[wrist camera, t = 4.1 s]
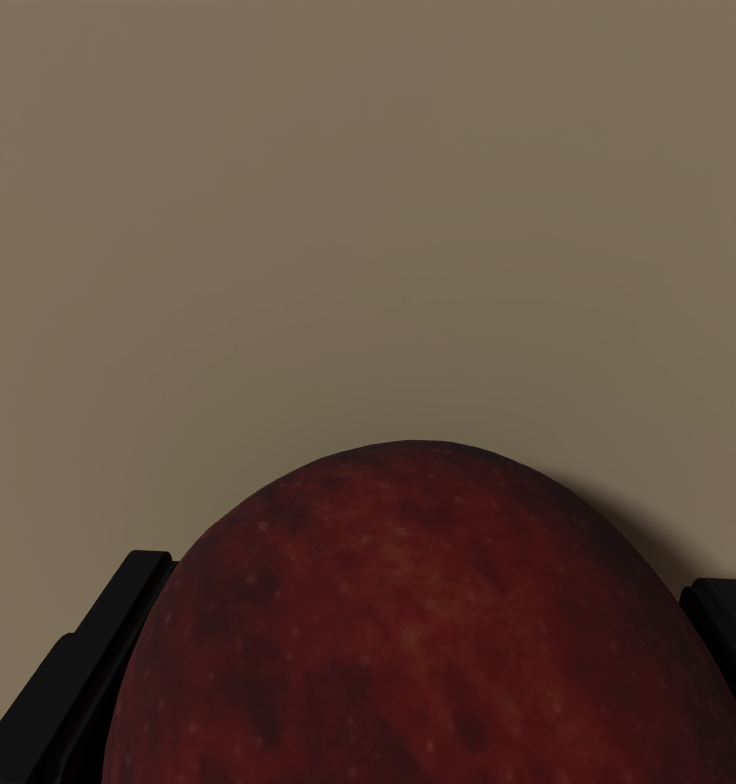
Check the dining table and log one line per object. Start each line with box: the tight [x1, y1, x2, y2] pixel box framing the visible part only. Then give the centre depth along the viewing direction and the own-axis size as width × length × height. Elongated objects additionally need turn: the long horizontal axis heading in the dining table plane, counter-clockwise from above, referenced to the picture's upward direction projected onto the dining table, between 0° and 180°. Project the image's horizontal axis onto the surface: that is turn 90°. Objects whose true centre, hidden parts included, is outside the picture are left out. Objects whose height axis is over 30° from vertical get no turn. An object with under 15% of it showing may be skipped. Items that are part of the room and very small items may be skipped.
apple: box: [101, 440, 736, 784], centre depth 8 cm, size 7×8×8 cm
